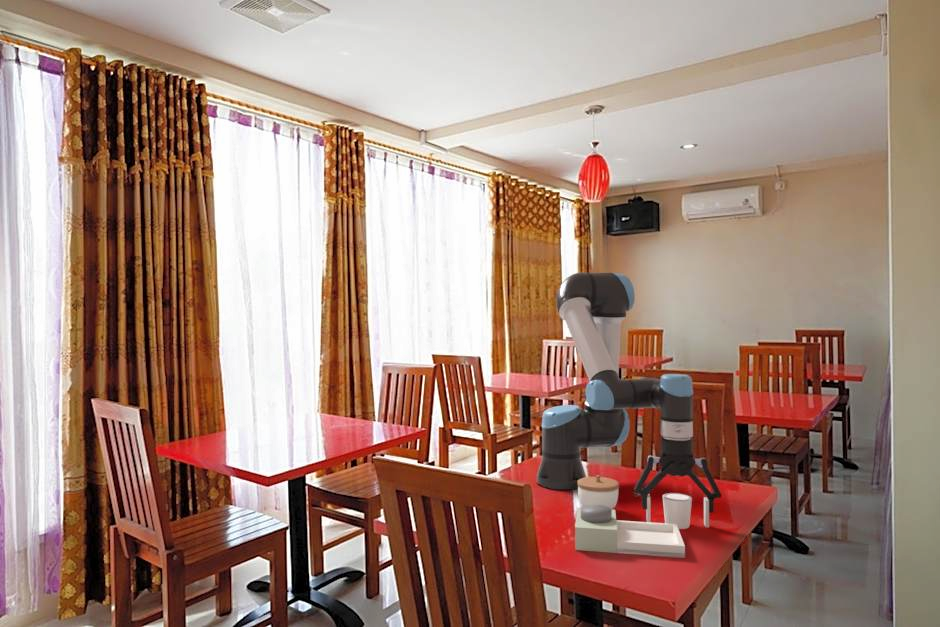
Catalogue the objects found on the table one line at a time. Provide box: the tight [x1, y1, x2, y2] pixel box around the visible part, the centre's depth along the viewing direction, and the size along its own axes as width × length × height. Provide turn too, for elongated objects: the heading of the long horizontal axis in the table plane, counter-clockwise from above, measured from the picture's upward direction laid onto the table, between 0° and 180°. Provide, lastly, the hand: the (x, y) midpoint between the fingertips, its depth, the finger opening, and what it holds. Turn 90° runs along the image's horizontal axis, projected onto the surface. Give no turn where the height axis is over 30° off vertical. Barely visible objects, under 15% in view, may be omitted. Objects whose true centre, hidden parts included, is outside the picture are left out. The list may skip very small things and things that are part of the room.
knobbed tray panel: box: [574, 505, 686, 559], centre depth 139 cm, size 14×23×7 cm, turn 78°
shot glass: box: [661, 492, 693, 530], centre depth 150 cm, size 7×7×7 cm
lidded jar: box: [577, 474, 620, 510], centre depth 161 cm, size 11×11×9 cm
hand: (677, 523), depth 150 cm, fingers open, 13 cm apart
